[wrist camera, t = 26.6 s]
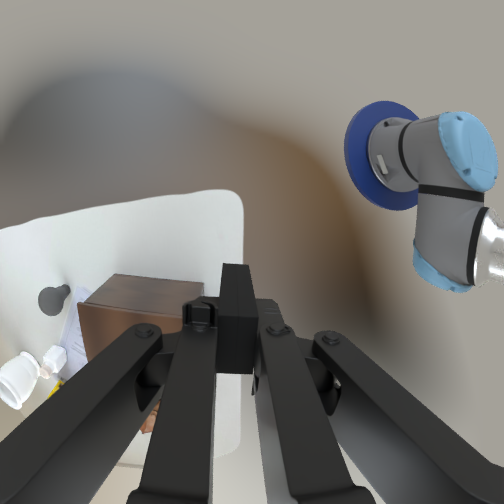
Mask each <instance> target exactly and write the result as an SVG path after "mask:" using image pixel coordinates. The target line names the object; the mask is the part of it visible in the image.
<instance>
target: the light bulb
mask: <svg viewBox="0 0 504 504" xmlns="http://www.w3.org/2000/svg"><path fill="white" fill-rule="evenodd" d="M69 293H70V288H69V286H68V285H66V284H64V285H62V286H59V287H57V288H54V287H47V288H45V289H43V290H42V291H41V292H40V294H39V297H38V303H39V307H40V309H41V310H42V312H43V313H45V314H46V315H49V316H55V315H57V314H59V313H60V312H61V310H62V308H63V304H64V300H65V299H66V297H67V296H68V295H69Z"/></svg>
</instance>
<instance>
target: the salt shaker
mask: <svg viewBox="0 0 504 504" xmlns="http://www.w3.org/2000/svg"><path fill="white" fill-rule="evenodd" d="M66 361H67V355H66V350H65V348H62V347H60V346H57V345H53V346H52V347H51V348H50V349H49V351H48V352H47V353H46V354H45V355H44V357H43V362H44V363H43V364H42V365H41V367H40V368H39V373H40V374H41V375H42V377H44V378H45V379H49V378H50V376H51V375H52V374H53V373H58V372H59V371H60V370H61V368H62V367H63V366H64V364H65V363H66Z"/></svg>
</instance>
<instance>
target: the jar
mask: <svg viewBox="0 0 504 504" xmlns="http://www.w3.org/2000/svg"><path fill="white" fill-rule="evenodd" d="M39 368H40V366H39V364H38V362H37V361H36V359H35V358H34V357H33V356H32V355H30V354H29V353H27V352H21V353H20V355H19V356H16V357H14V358H12V359H11V360H10V361H8V362H6V363H5V364H4V365H3V366H2V367H1V369H0V397H1V398H2V399H3V400H4V402H5V403H7V404H8V405H9V406H11V407H12V408H14V409H17V410H18V409H20V408H21V407H22V403H23V402H24V401H25V400H26V399H27V398H28V397H29V396H30V394H31V393H32V391H33V388H34V386H35V384H36V382H37V377H39V376H40V375H41V374H40V373H39Z"/></svg>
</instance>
